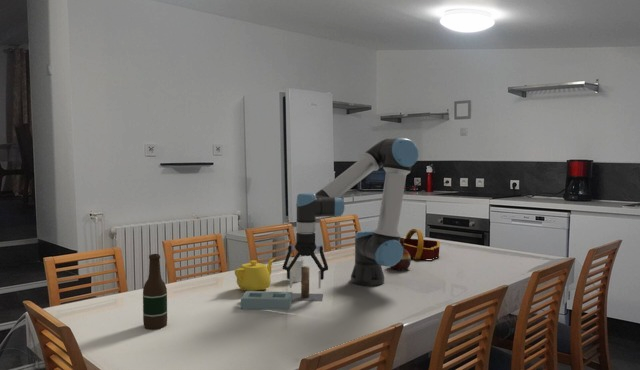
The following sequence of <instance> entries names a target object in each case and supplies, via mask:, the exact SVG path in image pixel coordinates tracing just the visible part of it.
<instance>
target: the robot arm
mask: <svg viewBox="0 0 640 370" xmlns="http://www.w3.org/2000/svg"><path fill="white" fill-rule="evenodd" d="M418 159H419V149H418V146H417V145H416V143H415V142H414V141H413V140H411V139H408V138H404V137H399V138H385V139H383V140H380V141H379V142H377V143H375V144H374V145H373V146H372V147H370V148H369V149H368V150H366V151H365V152H364V153H363V156H362V157H361V158H360V159H359V160H357V161H356V162H354V163H353V164H352V165H351V166H350V167H348V168H347V169H346V170H344V171H343V172H342V173H340V174H339V175H338V176H337V177H336V178H334V179H333V180H332V181H330V182H329V183H327V184H326V185H325V186H324V187H322V188H321V189H319V190H318V191H317V192H316V193H312V192H300V193H299V194H297V196H296V205H295V206H296V235H295V238H296V239H295V241H296V243H295V245H293V244H289V245H288V246H287V254H286V257H285V259H284V262H283V265H282V270H285V271H286V278H287V279H290V281H289V288H290V289H292V287H293V282H292V270H290V269H291V268H292V266H293V265H294V263H295V262H296V260H297V259H298V257H299V258H300V256H301V257H305V256H306V257H311V258H312V259H313V261H314V263H315V264H316V266H317V268H318V269H319V270H318V289H321V288H322V286H321V284H322V280H324V279H325V276H324V274H325V271H328V270H329V265H328V262H327V259H326V256H325V253H324V245H322V244H321V245H316V233H315V232H316V218H322V217H333V218H334V217H339V216H342V215H343V214H344V212H345V203H344V200H343V198H341V197H342V196H343V195H344V194H346V192H348V191H349V190H350V189H352V188H353V187H354V186H356V185H357V184H358V183H359V182H361V181H362V180H363V179H365V178H367V176H368V175H369V174H372V172H375V171H376V172H377V171H379V169H381V168H382V169H383V170H384V172H385V177H384V178H385V179H384V184H383V190H382V197H381V203H380V209H379V215H378V222H377V228H376V229H374V230H358V231H357V232H356V233H355V238H354V241H355V242H354V266H353V269H352V271H351V275H350V282H351V283H352V284H355V285H359V286H360V285H361V286H370V287H371V286H380V285H383V284H385V275H384V271H383V268H382V266H383V267H387V268H391V266H394V265H396V264H397V263H398V262H399V261H400V260H401V258H402V256H403V247H402V245H401V243H400V238H401V235H400V232H399V231H398V230H399V224H400V219H401V218H400V217H401V211H402V204H403V199H404V193H405V192H404V191H405V186H406V179H407V175H409V174H410V173H411V171H412V166H414V165H415V164H416V163H417V162H418ZM316 249H317V252H319V255H320V258H321V261H322V263H321V262H320V261H319V259H318V257H317V256H316V254H315V250H316ZM294 250H296V251H297V253H296V255H295V256H294V259H293V260H292V262H291V263H290V265H289V266H287V263H288V260H289V258H291V257H290V256H291V253H292V252H293V251H294ZM322 264H323V265H322Z"/></svg>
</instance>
